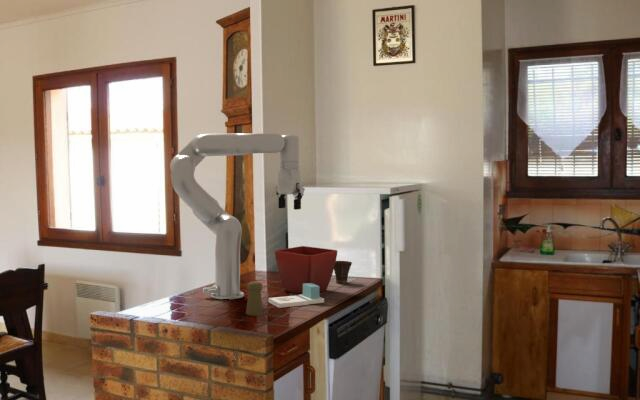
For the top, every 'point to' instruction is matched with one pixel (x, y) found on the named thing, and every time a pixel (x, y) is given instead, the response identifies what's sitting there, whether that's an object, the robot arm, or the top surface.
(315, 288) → the stub
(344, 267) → the cup
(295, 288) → the plant pot
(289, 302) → the white flat slab
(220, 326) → the top surface
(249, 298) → the olive green pepper shaker
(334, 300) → the top surface
